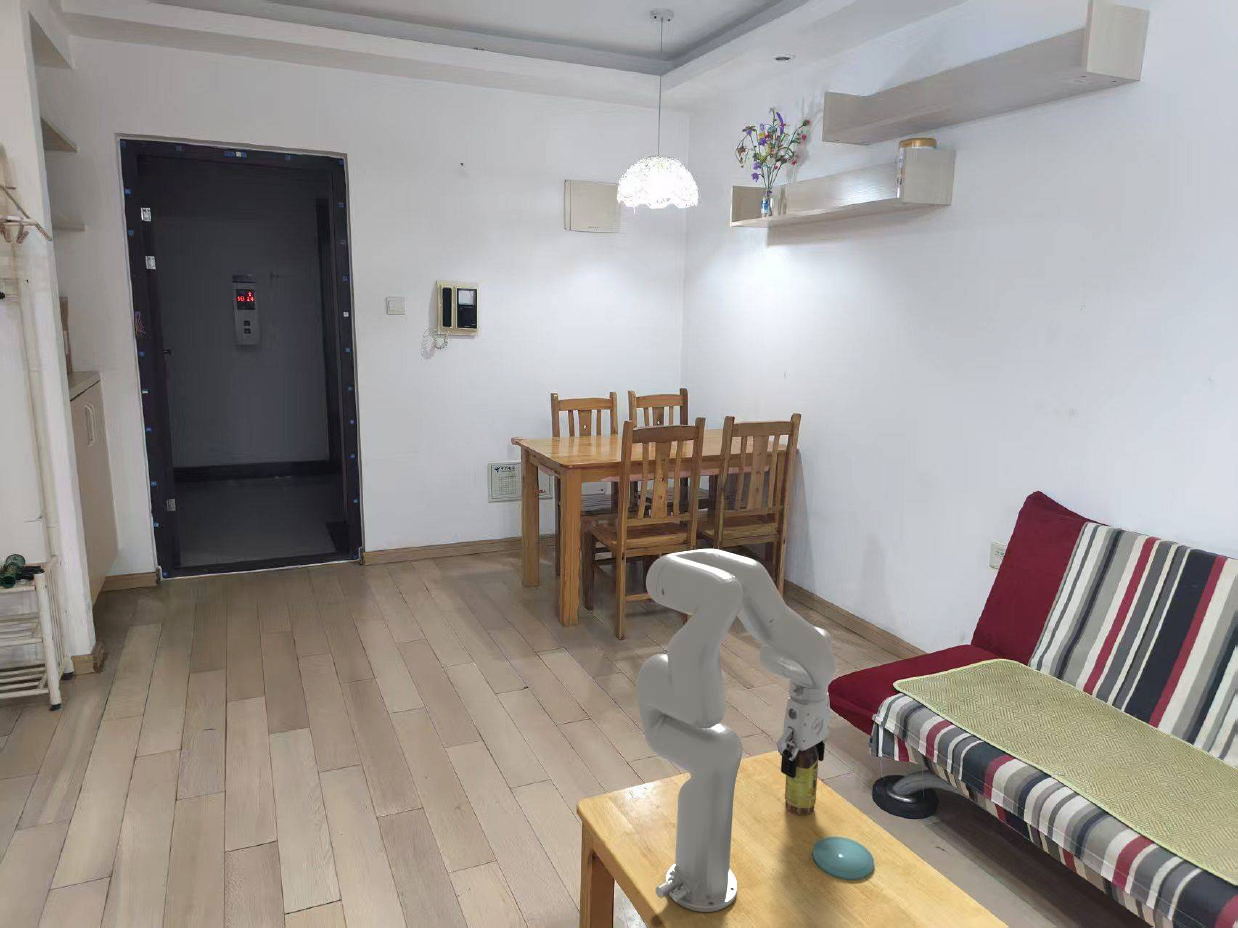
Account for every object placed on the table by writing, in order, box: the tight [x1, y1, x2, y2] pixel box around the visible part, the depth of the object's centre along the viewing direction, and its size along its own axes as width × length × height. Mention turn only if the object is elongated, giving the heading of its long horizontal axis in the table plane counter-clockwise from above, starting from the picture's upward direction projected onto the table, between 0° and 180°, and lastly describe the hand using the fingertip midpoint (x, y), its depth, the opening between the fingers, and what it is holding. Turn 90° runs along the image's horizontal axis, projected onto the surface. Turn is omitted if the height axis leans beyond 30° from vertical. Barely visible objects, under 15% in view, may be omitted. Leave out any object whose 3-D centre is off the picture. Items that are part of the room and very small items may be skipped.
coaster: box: [812, 836, 875, 881], centre depth 151 cm, size 11×11×1 cm
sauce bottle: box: [784, 740, 819, 816], centre depth 165 cm, size 6×6×20 cm
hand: (802, 766), depth 165 cm, fingers open, 9 cm apart
